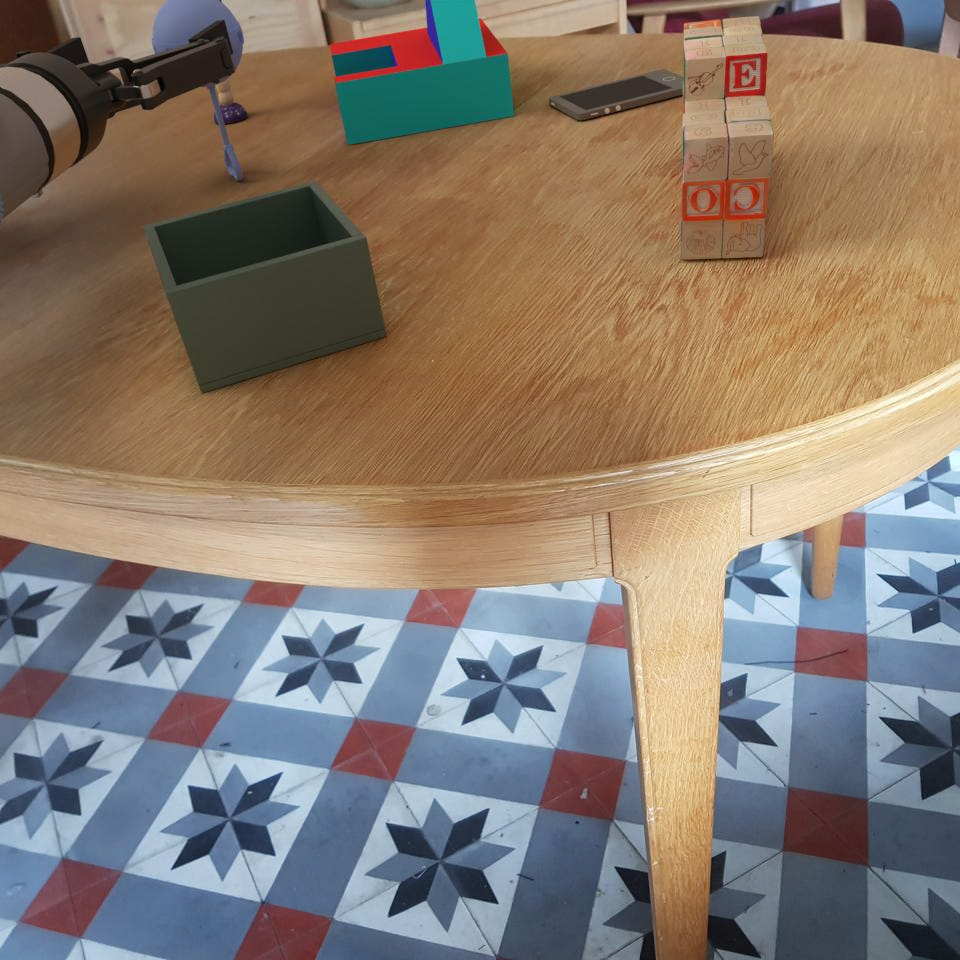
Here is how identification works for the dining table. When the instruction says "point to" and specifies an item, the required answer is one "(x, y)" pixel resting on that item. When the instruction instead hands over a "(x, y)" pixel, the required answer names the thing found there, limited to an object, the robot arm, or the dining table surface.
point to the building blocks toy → (423, 76)
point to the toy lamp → (229, 104)
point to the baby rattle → (173, 26)
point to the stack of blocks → (725, 140)
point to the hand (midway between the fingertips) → (152, 45)
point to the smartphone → (619, 94)
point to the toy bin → (266, 283)
